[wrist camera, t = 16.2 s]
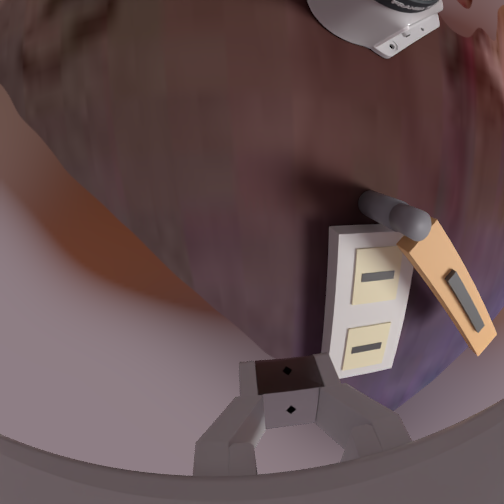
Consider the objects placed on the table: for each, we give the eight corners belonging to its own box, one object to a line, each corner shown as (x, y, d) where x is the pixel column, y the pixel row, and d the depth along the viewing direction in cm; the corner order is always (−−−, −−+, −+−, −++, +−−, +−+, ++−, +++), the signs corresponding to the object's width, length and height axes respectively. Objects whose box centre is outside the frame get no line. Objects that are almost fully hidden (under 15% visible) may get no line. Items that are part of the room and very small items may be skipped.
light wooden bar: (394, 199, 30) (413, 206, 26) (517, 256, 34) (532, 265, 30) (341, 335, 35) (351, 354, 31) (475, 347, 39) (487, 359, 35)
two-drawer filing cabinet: (329, 190, 38) (353, 201, 30) (405, 190, 38) (439, 201, 30) (319, 365, 47) (332, 398, 39) (382, 354, 48) (401, 383, 40)
